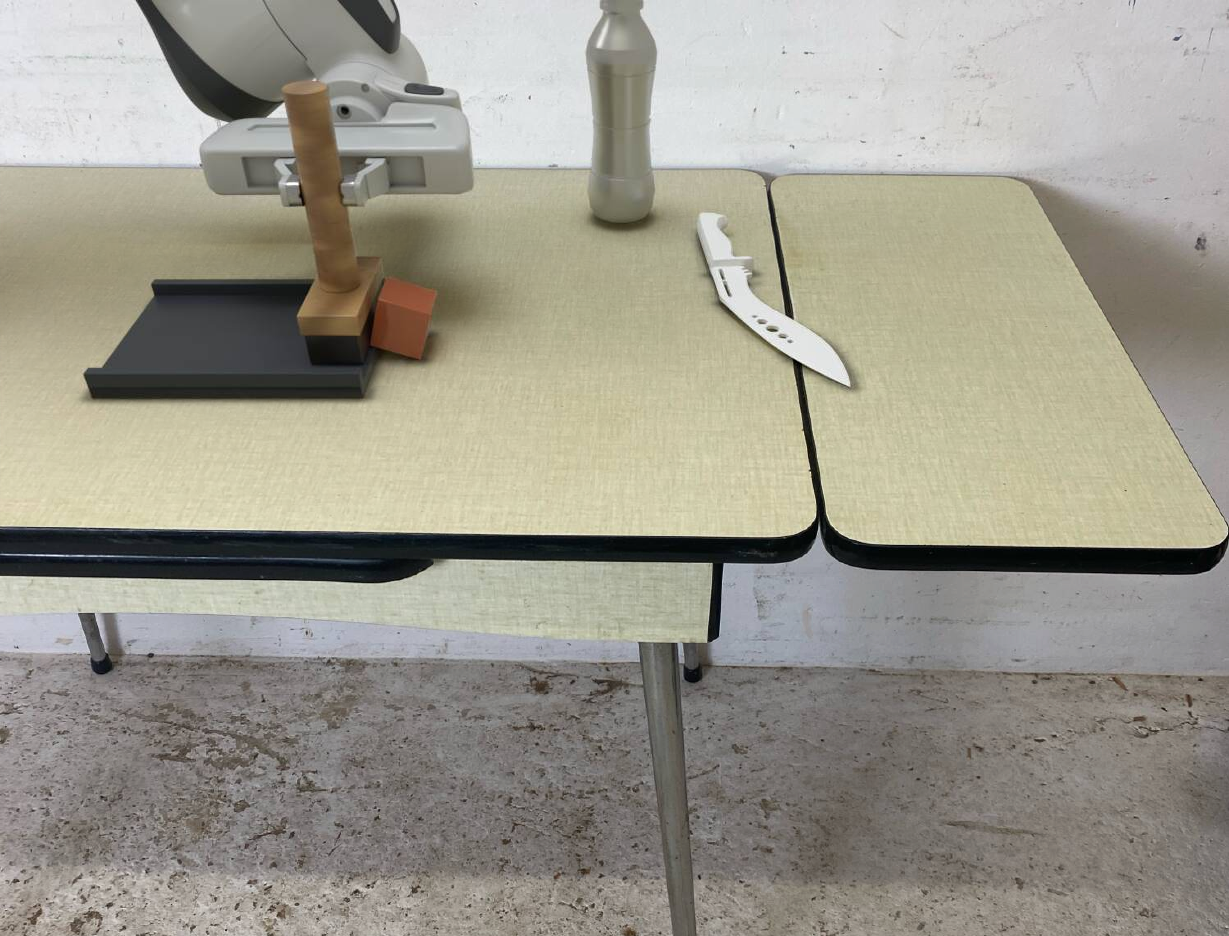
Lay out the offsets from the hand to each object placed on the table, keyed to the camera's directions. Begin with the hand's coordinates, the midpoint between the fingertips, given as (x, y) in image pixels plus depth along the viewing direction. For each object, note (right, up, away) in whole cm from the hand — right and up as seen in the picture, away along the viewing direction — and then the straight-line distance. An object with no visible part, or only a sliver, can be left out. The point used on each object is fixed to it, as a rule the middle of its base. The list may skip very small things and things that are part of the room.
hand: (321, 196), depth 76 cm
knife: (+33, -3, +15) cm, 37 cm away
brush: (0, -8, +8) cm, 11 cm away
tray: (-8, -9, +9) cm, 14 cm away
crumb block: (+4, -8, +8) cm, 12 cm away
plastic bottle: (+22, +9, +28) cm, 36 cm away
